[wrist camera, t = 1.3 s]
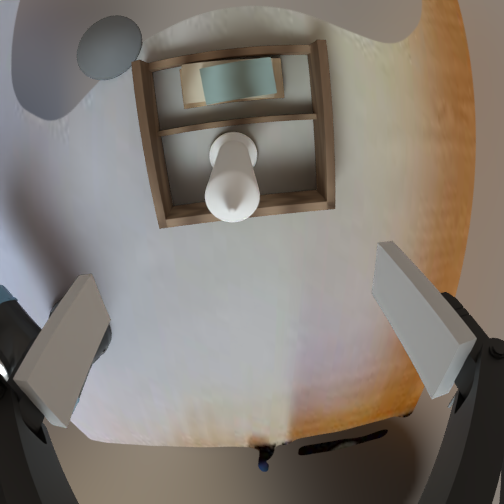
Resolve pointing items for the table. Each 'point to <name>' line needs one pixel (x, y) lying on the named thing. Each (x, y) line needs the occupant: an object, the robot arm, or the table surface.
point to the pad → (109, 47)
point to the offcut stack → (231, 81)
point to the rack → (321, 119)
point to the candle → (232, 178)
